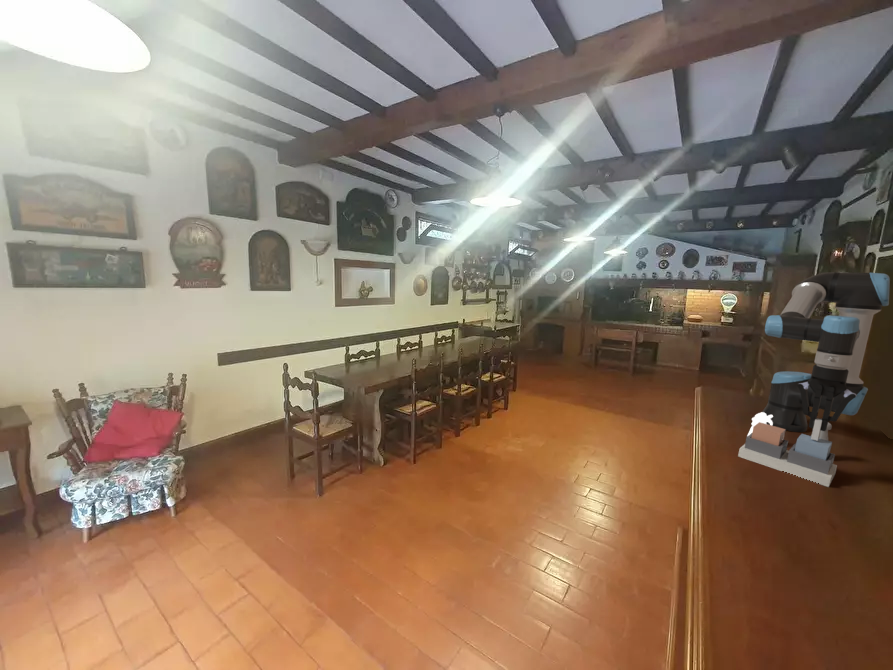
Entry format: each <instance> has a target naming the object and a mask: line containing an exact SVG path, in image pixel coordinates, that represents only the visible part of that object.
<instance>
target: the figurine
mask: <svg viewBox="0 0 893 670" xmlns="http://www.w3.org/2000/svg"><path fill="white" fill-rule="evenodd" d="M772 417H773V415H768V416H767V415H766V413H764V412H762V411H761V412H758V413H756V414H755V415H754V416H753V417H752V418H751V421H752V422H751V427H750V429H749V431H748V433H747V435H746V437H747V436H749V435H750V434H751V433H752V432H753V427H754V426H755V425H756V424H758V423H759V422H760V423H764V424H766V422H769V423H770V425H773V422H772V420H771V418H772Z"/></svg>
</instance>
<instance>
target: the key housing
mask: <svg viewBox="0 0 893 670" xmlns="http://www.w3.org/2000/svg"><path fill="white" fill-rule="evenodd" d="M751 437H752V433H751V434H750V435H749V436H747V435H746V438H745V443H744V444H743V445H742V446H740V448H739V449H738V450H739V451H738V454H737V457H739V458H742V459H745V460H747V461H750V462H753V463H757V464H759V465H762V466H765V467H769V468H771V469H774V470H777V471H780V472H782V471H784V472H783V473H785V472H787V473H786V474H788V473H790V474H789V475H791V474H793V475H792V476H794V475H796V476H795V477H797V476H798V478H800V477H801V479H803V478H804V479H803V480H806V479H807V481H809V480H810V482H812V481H813V482H812V483H815V482H816V483H815V484H818V483H819V484H818V485H821V486H824V487H827V488H830V485H831V483H832V481H833V479H834V478H835V475H836V472H837V469H838V468H837V467H838V465H837V464H835V463H834V460H835V457H836V453H831V452H830V454H829V457H828V459H827V460H823V459H820V458H817V457H813V456H810V455H807V454H803V453H800V452H797V451H795V447H796V442H795V443H794V444H793V445H792V446H791V448H789V450H788V445H789V444H788V443H789V440H788V439H784V440H783V443H782V444H781V445H780V446H777V445H773V444H770V443H767V442H763V441H760V440H757V439H753V438H751Z"/></svg>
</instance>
